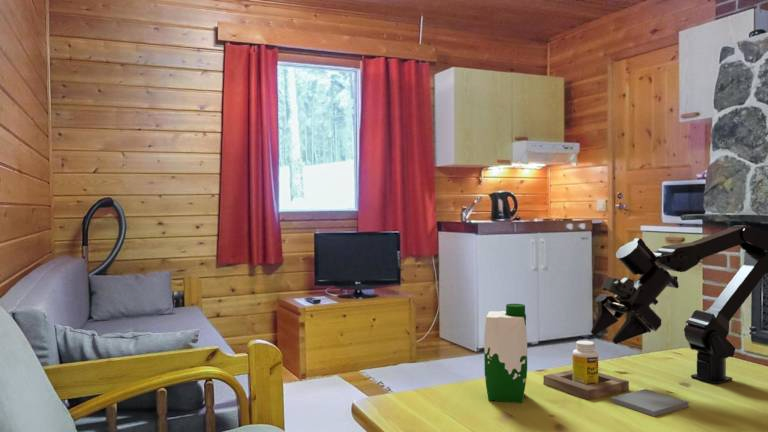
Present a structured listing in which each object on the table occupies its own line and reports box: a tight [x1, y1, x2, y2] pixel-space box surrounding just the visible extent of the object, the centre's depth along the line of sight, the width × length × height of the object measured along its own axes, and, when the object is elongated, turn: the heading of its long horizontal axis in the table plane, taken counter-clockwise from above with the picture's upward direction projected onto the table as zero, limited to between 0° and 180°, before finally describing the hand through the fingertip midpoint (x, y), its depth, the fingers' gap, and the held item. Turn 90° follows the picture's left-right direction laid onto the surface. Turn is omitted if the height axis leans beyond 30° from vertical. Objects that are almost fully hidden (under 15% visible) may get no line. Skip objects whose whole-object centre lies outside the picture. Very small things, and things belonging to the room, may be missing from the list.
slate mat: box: [610, 388, 689, 417], centre depth 122 cm, size 11×10×1 cm
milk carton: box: [483, 303, 528, 404], centre depth 127 cm, size 9×9×20 cm
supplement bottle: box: [572, 340, 599, 385], centre depth 134 cm, size 6×6×10 cm
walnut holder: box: [543, 369, 630, 401], centre depth 134 cm, size 13×13×2 cm
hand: (602, 338), depth 134 cm, fingers open, 9 cm apart
